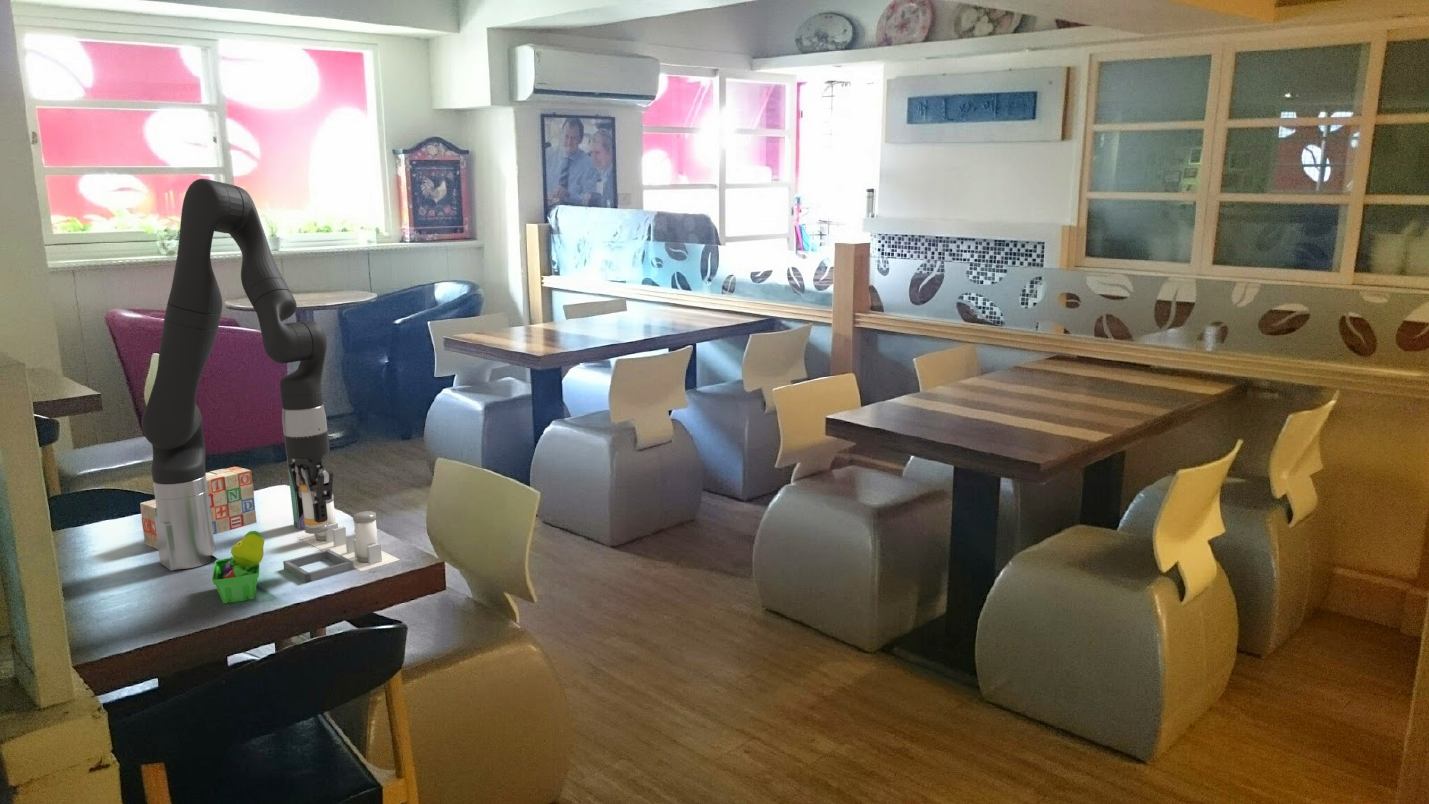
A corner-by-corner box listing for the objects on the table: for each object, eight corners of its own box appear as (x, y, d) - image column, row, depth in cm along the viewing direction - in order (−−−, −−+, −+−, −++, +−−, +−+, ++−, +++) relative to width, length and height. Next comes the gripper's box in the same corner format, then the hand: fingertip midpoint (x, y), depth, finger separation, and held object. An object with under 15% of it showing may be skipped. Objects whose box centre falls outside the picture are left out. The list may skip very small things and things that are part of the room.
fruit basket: (217, 585, 190) (210, 527, 188) (269, 578, 194) (263, 521, 191) (215, 608, 180) (207, 547, 178) (269, 599, 184) (262, 539, 181)
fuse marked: (332, 529, 192) (328, 483, 190) (311, 535, 189) (306, 488, 188) (322, 524, 195) (317, 479, 193) (301, 530, 192) (296, 484, 190)
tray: (307, 590, 187) (306, 574, 187) (284, 576, 194) (283, 561, 194) (354, 576, 194) (352, 561, 193) (330, 563, 200) (328, 549, 200)
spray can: (312, 536, 216) (303, 445, 212) (289, 535, 217) (279, 444, 213) (327, 528, 221) (318, 438, 217) (304, 526, 223) (295, 437, 218)
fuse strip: (361, 578, 192) (359, 553, 191) (297, 544, 212) (295, 521, 211) (400, 567, 198) (398, 542, 197) (334, 534, 217) (332, 511, 216)
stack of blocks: (159, 551, 209) (152, 493, 207) (144, 545, 213) (136, 488, 210) (257, 522, 226) (251, 469, 224) (242, 518, 230) (235, 465, 227)
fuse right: (363, 564, 196) (359, 519, 194) (353, 559, 198) (348, 514, 197) (383, 558, 198) (379, 514, 197) (373, 553, 201) (369, 509, 199)
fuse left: (321, 542, 208) (317, 500, 206) (312, 538, 211) (307, 496, 209) (341, 537, 211) (337, 495, 209) (331, 533, 214) (327, 491, 212)
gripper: (343, 432, 186) (352, 521, 190) (308, 420, 196) (317, 506, 199) (302, 440, 181) (313, 532, 184) (268, 428, 190) (279, 516, 194)
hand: (315, 518), depth 192 cm, fingers closed on fuse marked, 4 cm apart
